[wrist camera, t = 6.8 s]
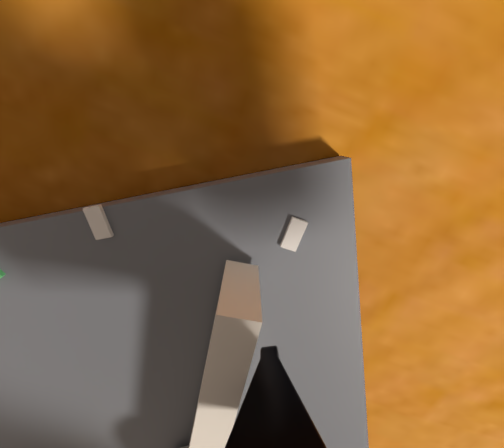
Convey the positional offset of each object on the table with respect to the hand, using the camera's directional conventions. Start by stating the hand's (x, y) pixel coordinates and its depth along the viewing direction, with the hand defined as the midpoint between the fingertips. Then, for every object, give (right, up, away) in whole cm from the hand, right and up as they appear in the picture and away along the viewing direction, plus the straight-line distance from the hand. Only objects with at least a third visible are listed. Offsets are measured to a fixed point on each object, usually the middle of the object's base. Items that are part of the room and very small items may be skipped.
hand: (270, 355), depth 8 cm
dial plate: (-5, -3, +4) cm, 7 cm away
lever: (-2, -3, +3) cm, 5 cm away
